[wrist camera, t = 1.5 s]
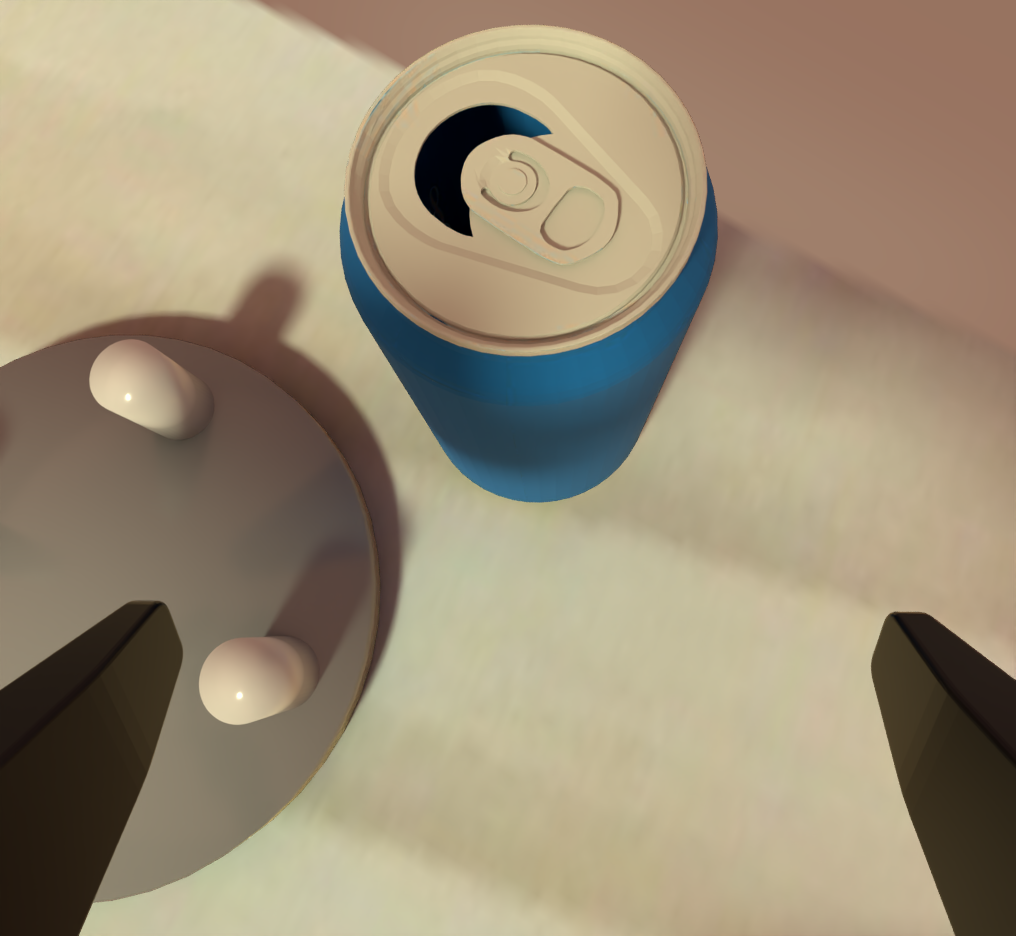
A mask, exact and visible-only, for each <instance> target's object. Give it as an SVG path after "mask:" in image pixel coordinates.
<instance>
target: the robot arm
mask: <svg viewBox="0 0 1016 936" xmlns="http://www.w3.org/2000/svg"><path fill="white" fill-rule="evenodd" d="M182 661H183V646H182V643H181V640H180V637H179V635H178V632H177V629H176V627H175V624H174V621H173V619H172V616H171V613H170V611H169V609H168V607H167V605H166V604H165V603H163V602H161V601H152V600H135V601H130V602H128V603H126V604H124V605H123V606H121V607H120V608H119V609H117V610H116V611H114V612H113V613H111V614H110V615H108V616H107V617H105V618H104V619H103V620H101V621H100V622H98V623H97V624H95V625H94V626H92V627H91V628H89V629H88V630H87V631H85V632H84V633H82V634H81V635H79V636H78V637H76V638H75V639H73V640H72V641H71V642H69V643H68V644H66V645H65V646H63V647H62V648H60V649H59V650H57V651H56V652H55V653H53V654H52V655H50V656H49V657H47V658H46V659H44V660H43V661H41V662H40V663H38V664H37V665H36V666H34V667H33V668H31V669H30V670H28V671H27V672H25V673H24V674H22V675H21V676H20V677H18V678H17V679H15V680H14V681H12V682H11V683H9V684H8V685H6V686H5V687H4V688H2V689H1V690H0V936H79V934H80V932H81V929H82V927H83V925H84V922H85V920H86V918H87V915H88V913H89V911H90V908H91V906H92V904H93V901H94V899H95V897H96V894H97V892H98V890H99V887H100V885H101V883H102V880H103V878H104V876H105V873H106V871H107V869H108V866H109V864H110V862H111V859H112V857H113V855H114V852H115V850H116V848H117V845H118V843H119V841H120V838H121V836H122V834H123V831H124V829H125V827H126V824H127V822H128V820H129V817H130V815H131V813H132V810H133V808H134V806H135V803H136V801H137V799H138V796H139V794H140V792H141V789H142V787H143V784H144V782H145V779H146V777H147V774H148V771H149V768H150V765H151V762H152V759H153V756H154V753H155V750H156V747H157V744H158V740H159V737H160V734H161V731H162V727H163V724H164V721H165V718H166V714H167V711H168V708H169V705H170V701H171V698H172V695H173V692H174V688H175V685H176V682H177V679H178V675H179V672H180V669H181V665H182ZM871 673H872V679H873V683H874V687H875V691H876V695H877V699H878V703H879V706H880V710H881V714H882V718H883V722H884V726H885V730H886V734H887V738H888V742H889V746H890V750H891V753H892V757H893V761H894V765H895V769H896V773H897V777H898V780H899V784H900V787H901V791H902V794H903V798H904V800H905V803H906V806H907V809H908V812H909V815H910V818H911V820H912V823H913V825H914V828H915V831H916V833H917V836H918V839H919V841H920V844H921V847H922V849H923V852H924V855H925V857H926V860H927V862H928V865H929V868H930V870H931V873H932V876H933V878H934V881H935V884H936V886H937V889H938V892H939V894H940V897H941V899H942V902H943V905H944V907H945V910H946V913H947V915H948V918H949V921H950V923H951V926H952V928H953V931H954V934H955V936H1016V680H1015V679H1013V678H1012V677H1011V676H1009V675H1008V674H1007V673H1006V672H1004V671H1003V670H1002V669H1000V668H999V667H998V666H996V665H995V664H994V663H992V662H991V661H990V660H988V659H987V658H986V657H984V656H983V655H982V654H981V653H979V652H978V651H977V650H975V649H974V648H973V647H971V646H970V645H969V644H967V643H966V642H965V641H963V640H962V639H961V638H959V637H958V636H957V635H956V634H954V633H953V632H952V631H950V630H949V629H948V628H946V627H945V626H944V625H942V624H941V623H940V622H938V621H937V620H936V619H934V618H933V617H932V616H930V615H928V614H926V613H922V612H892V613H890V614H889V615H888V616H887V617H886V619H885V621H884V624H883V627H882V630H881V633H880V636H879V639H878V642H877V645H876V647H875V650H874V653H873V657H872V662H871Z"/></svg>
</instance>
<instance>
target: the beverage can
mask: <svg viewBox="0 0 1016 936" xmlns="http://www.w3.org/2000/svg"><path fill="white" fill-rule="evenodd" d="M344 195H345V197H344V201H343V205H342V211H341V222H340V247H341V259H342V265H343V270H344V275H345V280H346V282H347V285H348V288H349V291H350V294H351V297H352V300H353V302H354V304H355V306H356V308H357V310H358V312H359V314H360V315H361V317H362V319H363V321H364V323H365V324H366V326H367V328H368V329H369V331H370V333H371V334H372V336H373V337H374V339H375V341H376V342H377V344H378V345H379V347H380V349H381V350H382V352H383V353H384V355H385V357H386V358H387V360H388V362H389V363H390V365H391V366H392V368H393V370H394V371H395V373H396V374H397V376H398V378H399V379H400V381H401V382H402V384H403V386H404V387H405V389H406V390H407V392H408V394H409V395H410V397H411V399H412V400H413V402H414V403H415V405H416V407H417V408H418V410H419V411H420V413H421V415H422V416H423V418H424V419H425V421H426V423H427V424H428V426H429V428H430V429H431V431H432V432H433V434H434V436H435V437H436V439H437V440H438V442H439V444H440V445H441V447H442V448H443V450H444V452H445V453H446V455H447V456H448V457H449V459H450V460H451V462H452V463H453V464H454V465H455V466H456V467H457V468H458V469H459V470H460V472H461V473H462V474H464V475H465V476H466V477H467V478H469V479H470V480H471V481H472V482H474V483H475V484H477V485H478V486H480V487H482V488H483V489H485V490H487V491H489V492H492V493H494V494H496V495H498V496H502V497H505V498H508V499H512V500H517V501H524V502H550V501H558V500H562V499H566V498H570V497H573V496H576V495H578V494H581V493H584V492H586V491H587V490H589V489H591V488H593V487H595V486H597V485H598V484H600V483H601V482H602V481H604V480H605V479H607V478H608V477H609V476H610V475H611V474H612V473H613V472H614V471H616V470H617V469H618V468H619V467H620V465H621V464H622V463H623V462H624V461H625V459H626V458H627V457H628V455H629V454H630V452H631V450H632V449H633V447H634V446H635V444H636V442H637V439H638V437H639V435H640V433H641V431H642V428H643V426H644V424H645V422H646V420H647V417H648V415H649V413H650V411H651V409H652V407H653V404H654V402H655V400H656V398H657V396H658V393H659V391H660V389H661V387H662V385H663V382H664V380H665V378H666V376H667V374H668V371H669V369H670V367H671V365H672V363H673V360H674V358H675V356H676V354H677V352H678V350H679V347H680V345H681V343H682V341H683V339H684V336H685V334H686V332H687V330H688V328H689V325H690V323H691V321H692V319H693V317H694V314H695V312H696V310H697V308H698V306H699V303H700V301H701V299H702V297H703V294H704V292H705V290H706V288H707V285H708V283H709V279H710V276H711V272H712V268H713V265H714V261H715V254H716V246H717V239H718V230H717V208H716V203H715V196H714V190H713V186H712V183H711V179H710V176H709V173H708V170H707V167H706V163H705V157H704V151H703V147H702V144H701V141H700V138H699V135H698V131H697V129H696V127H695V125H694V122H693V120H692V118H691V116H690V114H689V112H688V110H687V109H686V107H685V106H684V104H683V103H682V101H681V100H680V98H679V97H678V95H677V94H676V93H675V91H674V90H673V89H672V88H671V87H670V85H669V84H668V83H667V82H666V81H665V80H664V79H663V78H662V77H661V76H660V75H659V74H658V73H657V72H656V71H655V70H653V69H652V68H651V67H650V66H649V65H648V64H647V63H645V62H644V61H643V60H641V59H640V58H638V57H637V56H635V55H634V54H632V53H630V52H629V51H628V50H626V49H624V48H622V47H620V46H618V45H616V44H614V43H612V42H610V41H608V40H606V39H603V38H600V37H597V36H594V35H592V34H589V33H586V32H582V31H578V30H573V29H569V28H564V27H556V26H547V25H513V26H505V27H496V28H491V29H487V30H483V31H479V32H475V33H472V34H469V35H466V36H463V37H460V38H458V39H455V40H452V41H450V42H448V43H446V44H444V45H442V46H440V47H438V48H436V49H434V50H432V51H430V52H429V53H427V54H426V55H424V56H422V57H421V58H420V59H418V60H416V61H415V62H413V63H412V64H411V65H410V66H408V67H407V68H406V69H405V70H404V71H402V72H401V73H400V74H399V75H398V76H396V77H395V78H394V80H393V81H392V82H391V83H390V84H389V85H388V86H387V87H386V88H385V89H384V90H383V91H382V92H381V94H380V95H379V96H378V98H377V99H376V100H375V102H374V103H373V105H372V106H371V107H370V109H369V110H368V112H367V114H366V116H365V118H364V119H363V121H362V123H361V125H360V127H359V129H358V131H357V134H356V136H355V139H354V142H353V144H352V147H351V150H350V154H349V159H348V163H347V167H346V176H345V187H344Z"/></svg>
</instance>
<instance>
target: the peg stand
mask: <svg viewBox="0 0 1016 936" xmlns="http://www.w3.org/2000/svg"><path fill="white" fill-rule="evenodd" d="M135 600H152V601H161V602H163V603H165V604H166V605H167V607H168V609H169V611H170V613H171V616H172V619H173V621H174V624H175V627H176V629H177V632H178V635H179V637H180V640H181V643H182V646H183V661H182V665H181V669H180V672H179V675H178V679H177V682H176V685H175V688H174V692H173V695H172V698H171V701H170V705H169V708H168V711H167V714H166V718H165V721H164V724H163V727H162V731H161V734H160V737H159V740H158V744H157V747H156V750H155V753H154V756H153V759H152V762H151V765H150V768H149V771H148V774H147V777H146V779H145V782H144V784H143V787H142V789H141V792H140V794H139V796H138V799H137V801H136V803H135V806H134V808H133V810H132V813H131V815H130V817H129V820H128V822H127V824H126V827H125V829H124V831H123V834H122V836H121V838H120V841H119V843H118V845H117V848H116V850H115V852H114V855H113V857H112V859H111V862H110V864H109V866H108V869H107V871H106V873H105V876H104V878H103V880H102V883H101V885H100V887H99V890H98V892H97V894H96V897H95V899H94V901H93V903H95V902H104V901H113V900H117V899H121V898H125V897H129V896H133V895H137V894H141V893H145V892H149V891H153V890H155V889H158V888H160V887H162V886H165V885H167V884H170V883H172V882H175V881H177V880H180V879H182V878H185V877H187V876H189V875H191V874H193V873H195V872H196V871H198V870H200V869H202V868H203V867H205V866H207V865H209V864H211V863H212V862H214V861H216V860H218V859H219V858H221V857H223V856H224V855H226V854H227V853H229V852H230V851H232V850H233V849H234V848H236V847H237V846H239V845H240V844H242V843H243V842H244V841H246V840H247V839H248V838H250V837H251V836H252V835H254V834H255V833H256V832H257V831H259V830H260V829H261V828H263V827H264V826H265V825H267V824H268V823H269V822H271V821H272V820H273V819H274V818H275V817H276V816H277V815H278V814H279V813H280V812H281V811H282V810H284V809H285V808H286V807H287V806H288V805H289V804H290V803H291V802H292V801H293V800H294V799H295V798H296V797H297V796H298V795H299V794H300V793H301V792H302V790H303V789H304V788H305V787H306V785H307V784H308V783H309V782H310V780H311V779H312V778H313V777H314V775H315V774H316V773H317V772H318V770H319V769H320V768H321V767H322V765H323V764H324V763H325V761H326V760H327V758H328V756H329V755H330V753H331V752H332V750H333V748H334V747H335V745H336V743H337V742H338V740H339V739H340V737H341V735H342V734H343V732H344V730H345V728H346V726H347V724H348V722H349V720H350V717H351V715H352V713H353V711H354V709H355V706H356V704H357V702H358V700H359V698H360V695H361V692H362V689H363V686H364V683H365V680H366V677H367V673H368V670H369V667H370V664H371V661H372V656H373V651H374V645H375V640H376V634H377V629H378V623H379V605H380V574H379V561H378V550H377V545H376V541H375V536H374V531H373V526H372V521H371V517H370V514H369V512H368V509H367V506H366V503H365V500H364V497H363V495H362V492H361V489H360V486H359V484H358V482H357V481H356V479H355V477H354V475H353V473H352V471H351V469H350V467H349V465H348V463H347V461H346V459H345V457H344V456H343V454H342V453H341V452H340V450H339V449H338V447H337V446H336V445H335V443H334V442H333V440H332V439H331V437H330V436H329V435H328V433H327V432H326V431H325V430H324V428H323V427H322V426H321V425H320V424H319V423H318V422H317V421H316V420H315V419H314V418H313V417H312V416H311V415H310V414H309V412H308V411H307V410H306V409H305V408H304V407H302V406H301V405H300V404H299V403H298V402H297V401H296V400H294V399H293V398H292V397H291V396H290V395H289V394H287V393H286V392H285V391H284V390H282V389H281V388H280V387H279V386H277V385H276V384H275V383H274V382H272V381H271V380H270V379H269V378H267V377H266V376H264V375H263V374H261V373H259V372H258V371H256V370H254V369H253V368H251V367H249V366H247V365H246V364H244V363H242V362H241V361H239V360H237V359H235V358H232V357H230V356H227V355H225V354H223V353H220V352H218V351H215V350H213V349H211V348H208V347H204V346H201V345H197V344H193V343H189V342H186V341H182V340H178V339H171V338H163V337H155V336H148V335H110V336H102V337H95V338H87V339H79V340H75V341H71V342H67V343H63V344H59V345H55V346H52V347H48V348H45V349H42V350H39V351H37V352H34V353H32V354H29V355H26V356H24V357H21V358H19V359H16V360H14V361H12V362H10V363H8V364H6V365H4V366H2V367H0V690H1V689H2V688H4V687H5V686H6V685H8V684H9V683H11V682H12V681H14V680H15V679H17V678H18V677H20V676H21V675H22V674H24V673H25V672H27V671H28V670H30V669H31V668H33V667H34V666H36V665H37V664H38V663H40V662H41V661H43V660H44V659H46V658H47V657H49V656H50V655H52V654H53V653H55V652H56V651H57V650H59V649H60V648H62V647H63V646H65V645H66V644H68V643H69V642H71V641H72V640H73V639H75V638H76V637H78V636H79V635H81V634H82V633H84V632H85V631H87V630H88V629H89V628H91V627H92V626H94V625H95V624H97V623H98V622H100V621H101V620H103V619H104V618H105V617H107V616H108V615H110V614H111V613H113V612H114V611H116V610H117V609H119V608H120V607H121V606H123V605H124V604H126V603H128V602H130V601H135Z"/></svg>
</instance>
